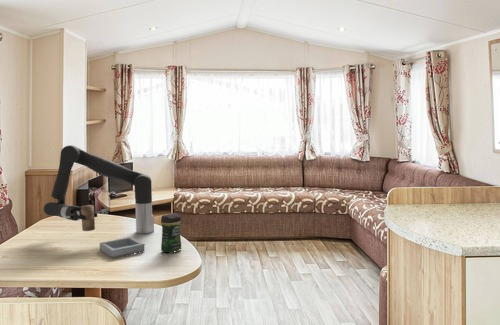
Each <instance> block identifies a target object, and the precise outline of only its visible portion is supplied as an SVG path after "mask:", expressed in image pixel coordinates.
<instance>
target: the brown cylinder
mask: <svg viewBox="0 0 500 325" xmlns="http://www.w3.org/2000/svg"><path fill="white" fill-rule="evenodd" d="M80 207H81V215H85V216H86V220H82V219H81V227H82V231H83V232H91V231H94V230H96V222H95V217H94V210H95V205H93V204H87V205H86V204H85V205H81V206H80Z"/></svg>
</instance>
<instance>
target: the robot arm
mask: <svg viewBox="0 0 500 325" xmlns="http://www.w3.org/2000/svg"><path fill="white" fill-rule="evenodd" d="M74 164H78V165H82V166H84V167H86V168H88V169H90V170H91V171H93V172H95V173H97V174H99V175H101V176H103V177H106V178H109V179H112V180H117V181H121V182H125V183H128V184H130V185H132V186H133V187H134V198H135V233H136V234H150V233H153V232H155V215H154V214H153V194H152V178H151V177H150V176H149V175H148V174H145V173H142V172H138V171H134V170H132V169H129V168H128V167H126V166H123V165H121V164H119V163H117V162H114V161H112V160H110V159H108V158H104V157H101V156H98V155H94V154H92V153H89V152H86V151H84V150H82V149H81V148H80V147H78V146H75V145H73V144H72V145H66V146H63V148H62V149H61V150H60V156H59V165H58V170H57V174H56V178H55V181H54V184H53V188H52V192H51V196H50V197H51V198H53V199H56V200H57V202H55V201H54V202H51V201H50V202H47V203H46V204H45V203H44V206H43V212H44V213H45V215H47V216H52V217H53V216H55V217H60V218H62V219H63V218H64V219H66V220H70V221H74V222H75V221H80V220H81V221H82V220H86V216H85V215H81V206H79V205H78V206H77V205H72V204H66V195H67V192H68V188H69V183H70V178H71V177H70V176H71V171H72V168H73V167H74ZM94 218H98V213H97V212H96V210H95V209H94Z"/></svg>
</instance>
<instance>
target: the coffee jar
mask: <svg viewBox="0 0 500 325" xmlns="http://www.w3.org/2000/svg"><path fill="white" fill-rule="evenodd" d="M181 223H182V217H181V214H180V213H177V212H172V213H169V214H163V215H162V216H161V220H160V224H161V230H162V232H161V244H160V245H161V247H160V251H161V252H162V251H163V253H164V252H173V253H175V252H174V251H177V250H179V249H181V250H182V241H181ZM177 252H178V251H177Z"/></svg>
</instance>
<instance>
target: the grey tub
mask: <svg viewBox="0 0 500 325" xmlns="http://www.w3.org/2000/svg"><path fill="white" fill-rule="evenodd" d="M145 250H146V249H145V243H143V242H141V241H139V240H138V239H135V238H133V237H131V236H129V237H124V238H119V239H113V240H108V241H104V242H99V251H100V252H101V253H102V254H104V255H106V256H107V257H109V258H111V259H113V260H114V259H118V257H119V258H123V257H127V255H128V256H132V255H131V254H133V255H135V254H134V253H137V254H140V253H139V252H142V253H144V252H143V251H145ZM122 256H123V257H122Z"/></svg>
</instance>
